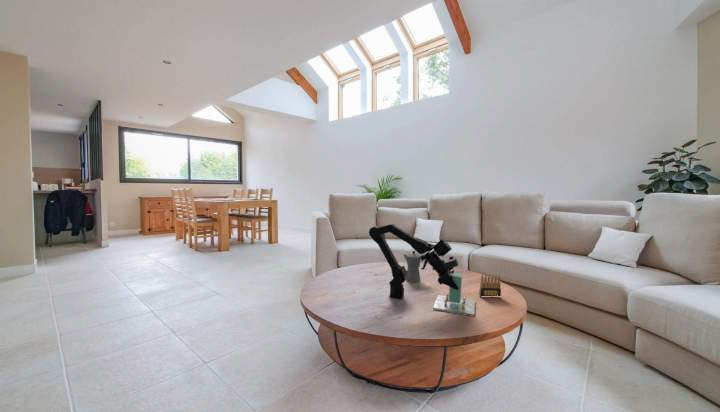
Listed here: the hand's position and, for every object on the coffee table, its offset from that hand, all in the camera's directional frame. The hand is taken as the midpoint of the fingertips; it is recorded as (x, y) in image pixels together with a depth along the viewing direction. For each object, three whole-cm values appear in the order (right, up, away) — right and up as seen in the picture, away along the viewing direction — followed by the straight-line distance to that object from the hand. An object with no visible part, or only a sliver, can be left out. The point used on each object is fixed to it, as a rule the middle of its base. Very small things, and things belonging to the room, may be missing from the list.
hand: (458, 287), depth 144 cm
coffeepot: (-14, -6, +40) cm, 42 cm away
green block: (-1, -7, +1) cm, 7 cm away
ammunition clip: (+21, -9, +14) cm, 27 cm away
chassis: (-1, -9, +1) cm, 9 cm away
